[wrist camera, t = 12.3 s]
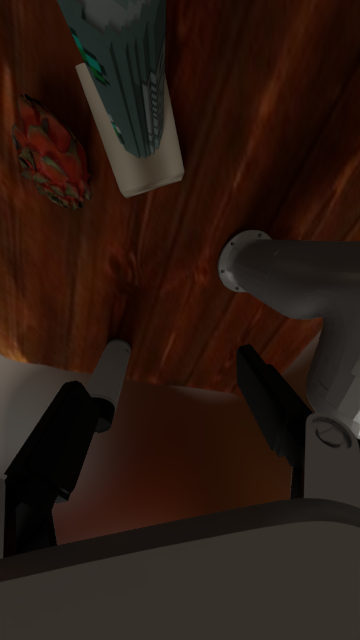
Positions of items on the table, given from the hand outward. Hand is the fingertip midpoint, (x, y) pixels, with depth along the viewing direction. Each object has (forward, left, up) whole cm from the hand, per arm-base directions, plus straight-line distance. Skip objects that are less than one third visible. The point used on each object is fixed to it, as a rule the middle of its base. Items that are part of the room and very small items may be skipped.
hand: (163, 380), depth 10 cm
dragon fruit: (+9, -20, -29) cm, 36 cm away
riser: (-3, -20, -28) cm, 35 cm away
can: (-4, -20, -25) cm, 32 cm away
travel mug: (+17, +15, -29) cm, 36 cm away
